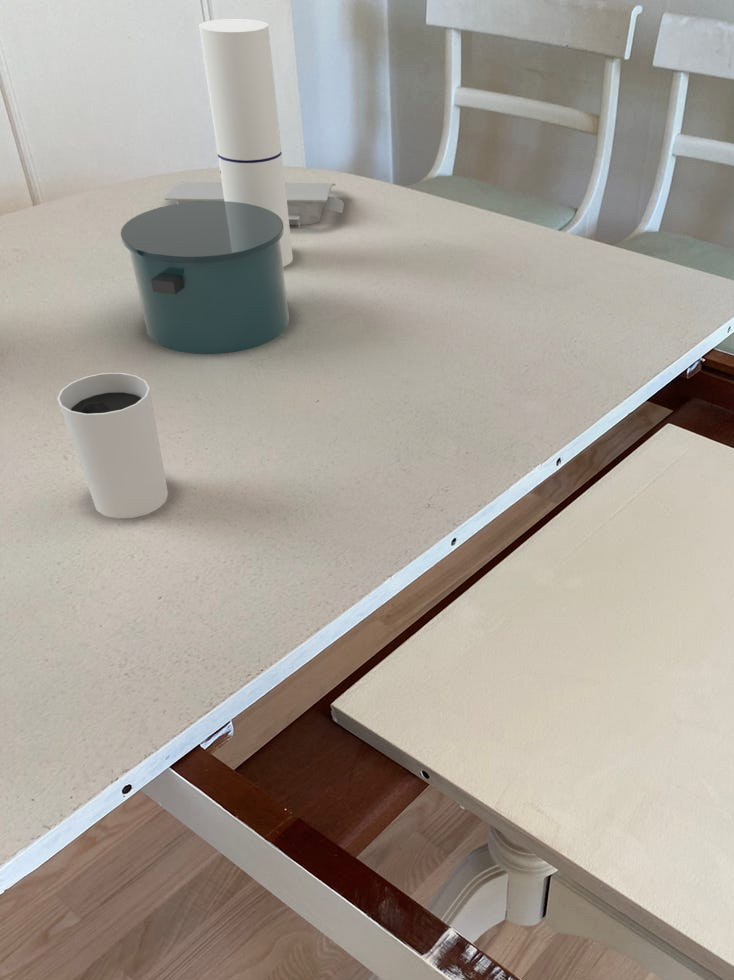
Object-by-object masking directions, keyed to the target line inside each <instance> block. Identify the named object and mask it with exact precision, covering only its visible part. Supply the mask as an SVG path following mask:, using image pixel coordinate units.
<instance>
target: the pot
mask: <svg viewBox="0 0 734 980" xmlns="http://www.w3.org/2000/svg"><path fill="white" fill-rule="evenodd" d="M283 233H284V226H283V221H282V220H281V218H280V217H279V216H278V215H277V214H275V213H274V212H272V211H270V210H268V209H265V208H262V207H259V206H255V205H250V204H245V203H238V202H228V201H199V202H188V203H180V204H176V203H175V204H168V205H163V206H160V207H156V208H153V209H150V210H147V211H144V212H142V213H140V214H138V215H136V216H134V217H132V218H131V219H129V220H128V221H126V222H125V224H123V226H122V227H121V229H120V238H121V242H122V244H123V246H125V248H126V249H127V250H128V251H129V254H130V259H131V264H132V268H133V273H134V279H135V281H136V282H135V283H136V287H137V291H138V296H139V301H140V305H141V310H142V315H143V319H144V324H145V328H146V332H147V335H148V337H149V338H150V339H151V340H152V341H153V342H154V343H156V345H157V344H158V345H159V346H161V347H163V348H166V349H169V350H172V351H175V352H181V353H187V354H195V355H219V354H228V353H236V352H241V351H246V350H250V349H253V348H256V347H260V346H263V345H265V344H268V343H269V342H271V341H273V340H275V339H276V338H278V337H280V336H281V335H282V334H283V333H284V332H285V331H286V330H287V328H288V326H289V325H290V324H289V323H290V314H289V306H288V297H287V289H286V288H287V287H286V281H285V280H286V279H285V272H284V270H285V269H284V267H283V261H282V252H281V243H280V239H281V237H282V236H283Z"/></svg>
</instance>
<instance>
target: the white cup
mask: <svg viewBox="0 0 734 980" xmlns="http://www.w3.org/2000/svg"><path fill="white" fill-rule="evenodd" d="M56 399H57V402H58V405H59V408H60V410H61V413H62V416H63V419H64V422H65V425H66V428H67V430H68V434H69V436H70V439H71V442H72V444H73V448H74V450H75V453H76V457H77V460H78V462H79V464H80V467H81V471H82V473H83V476H84V479H85V481H86V485H87V488H88V490H89V493H90V497H91V498H92V501H93V504H94V507H95V510H96V511H97V512H99V513H100V514H102V515H103V516H104V517H109V518H112V519H117V520H119V519H134V518H138V517H143V516H146V515H149V514H151V513H153V512H155V511H157V510H158V509H160V508H161V507H162V506H163V505H164V504H165V503H166V502H167V499H168V495H169V492H168V491H169V490H168V486H167V481H166V474H165V469H164V463H163V456H162V451H161V446H160V441H159V434H158V428H157V422H156V416H155V412H154V406H153V400H152V393H151V389H150V386H149V384H148V382H147V381H146V380H145V379H143V378H141V377H139V376H138V375H135V374H130V373H125V372H101V373H97V374H91V375H87V376H84V377H81V378H78V379H76V380H74V381H71V382H70V383H68V384H67V385H66V386H65V387H63V388H62V389H60V391H59V393H58V396H57V398H56Z"/></svg>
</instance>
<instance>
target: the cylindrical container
mask: <svg viewBox="0 0 734 980" xmlns="http://www.w3.org/2000/svg"><path fill="white" fill-rule="evenodd" d="M198 31H199V38H200V44H201V45H200V46H201V53H202V58H203V64H204V65H203V67H204V71H205V72H204V73H205V78H206V86H207V92H208V99H209V106H210V112H211V118H212V126H213V133H214V139H215V146H216V154H217V161H218V166H219V174H220V179H221V181H220V182H222V187H223V194H224V201H228V202H238V203H245V204H250V205H255V206H259V207H262V208H265V209H268V210H270V211H272V212H274V213H275V214H277V215H278V216H279V217H280V218H281V220H282V221H283V226H284V233H283V236H282V237H281V239H280V243H281V252H282V261H283V268H284V267H286V266H288V265H290V264H291V263H292V262H293V259H294V258H293V257H294V256H293V248H292V247H293V246H292V238H291V229H290V227H291V226H290V225H289V217H288V207H287V198H286V189H285V183H286V181H285V172H284V171H285V170H284V163H283V162H284V161H283V153H282V143H281V134H280V124H279V115H278V105H277V95H276V85H275V75H274V68H273V57H272V50H271V39H270V31H269V24H268V23H267V22H266V21H263V20H258V19H253V18H252V19H251V18H219V19H212V20H206V21H203V22H200V23H199V24H198Z"/></svg>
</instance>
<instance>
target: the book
mask: <svg viewBox="0 0 734 980" xmlns="http://www.w3.org/2000/svg"><path fill="white" fill-rule="evenodd" d="M334 186H336V183H334V182H285V189H286V198H287V207H288V217H289V226H298V229H299V230H300V229H301V226H302V225H313V224H315V223H318V222H320V221H321V216H322V211H323V209H325V210H329V211H333V212H337V213H339V214H343V211H344V207H345V202H344V201H343V200H342V199H340V198H338V197H336V196H335V197H334V196H329V195H330V192H331V190H332V188H333V187H334ZM164 200H165V201H177V202H176V203H175V204H180V203H188V202H199V201H224V194H223V187H222V181H181V182H178V183H177V184H175V185H174V186H173V187H172V188H171V189H170V190H169V191H168V192H167V194H166V195H165V197H164Z"/></svg>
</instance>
